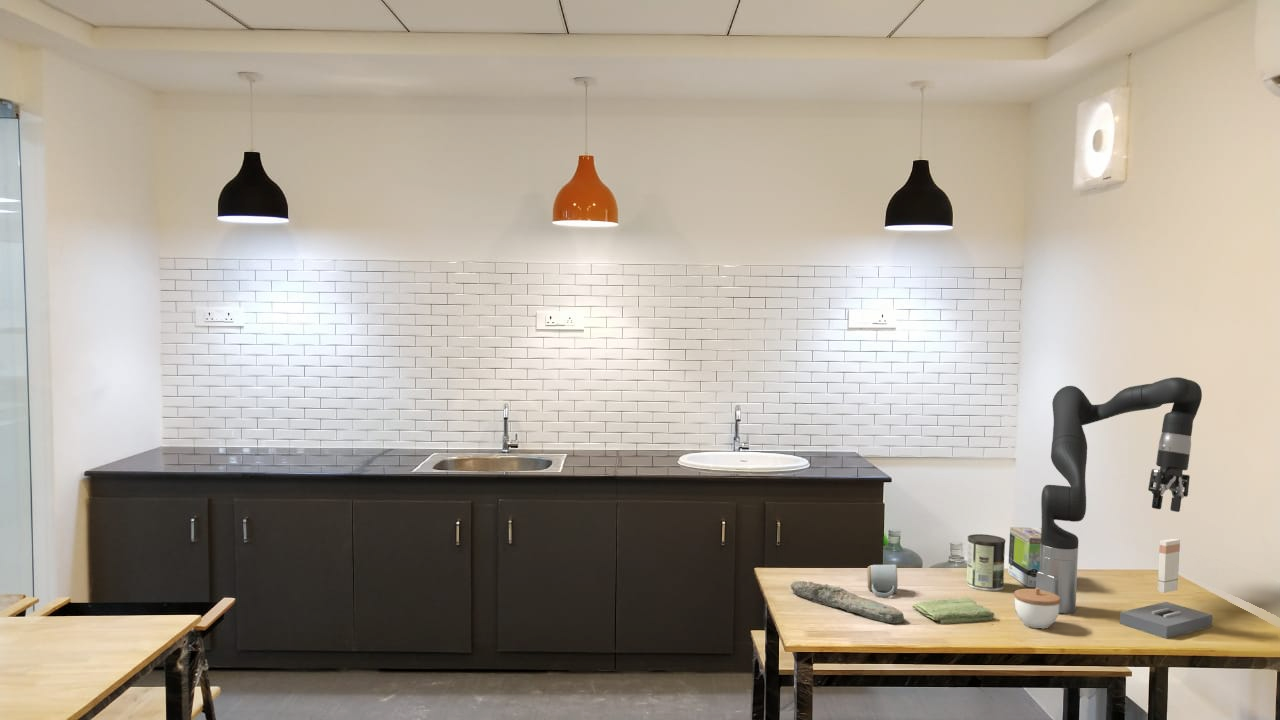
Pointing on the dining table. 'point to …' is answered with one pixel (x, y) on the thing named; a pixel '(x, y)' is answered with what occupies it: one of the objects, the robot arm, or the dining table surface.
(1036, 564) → the green printed box
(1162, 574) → the banded cream bar
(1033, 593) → the lidded jar
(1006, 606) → the dining table surface
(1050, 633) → the dining table surface
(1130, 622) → the grey slotted block
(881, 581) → the ceramic mug
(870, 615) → the long grey stone
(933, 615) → the washcloth
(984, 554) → the coffee can
